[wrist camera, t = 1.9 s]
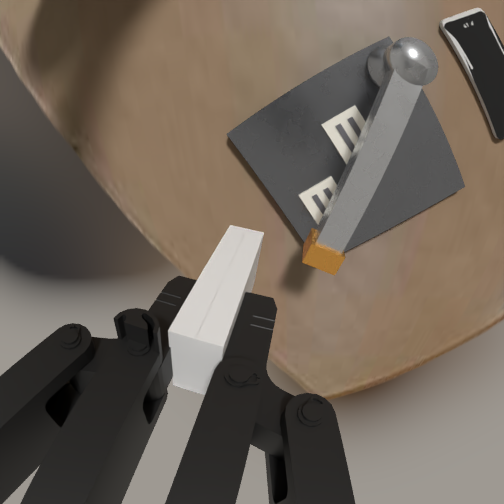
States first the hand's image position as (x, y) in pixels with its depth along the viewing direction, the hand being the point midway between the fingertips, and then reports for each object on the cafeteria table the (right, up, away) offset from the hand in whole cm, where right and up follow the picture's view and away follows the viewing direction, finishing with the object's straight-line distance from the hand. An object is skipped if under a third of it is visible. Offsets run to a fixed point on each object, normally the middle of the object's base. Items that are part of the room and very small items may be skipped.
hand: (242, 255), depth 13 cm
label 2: (+10, +11, +13) cm, 20 cm away
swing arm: (+10, +9, +9) cm, 16 cm away
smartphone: (+27, +21, +6) cm, 35 cm away
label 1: (+9, +5, +17) cm, 20 cm away
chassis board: (+11, +10, +15) cm, 21 cm away
